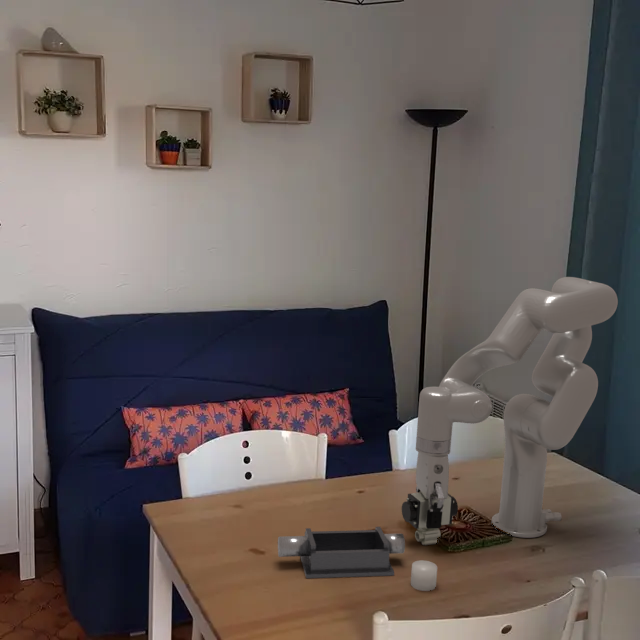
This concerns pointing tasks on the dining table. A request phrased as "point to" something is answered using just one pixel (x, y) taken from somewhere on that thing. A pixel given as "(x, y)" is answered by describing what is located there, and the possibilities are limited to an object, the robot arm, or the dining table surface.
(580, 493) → the dining table surface
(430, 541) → the pneumatic valve
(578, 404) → the robot arm
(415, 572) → the end cap
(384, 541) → the pipe bracket
